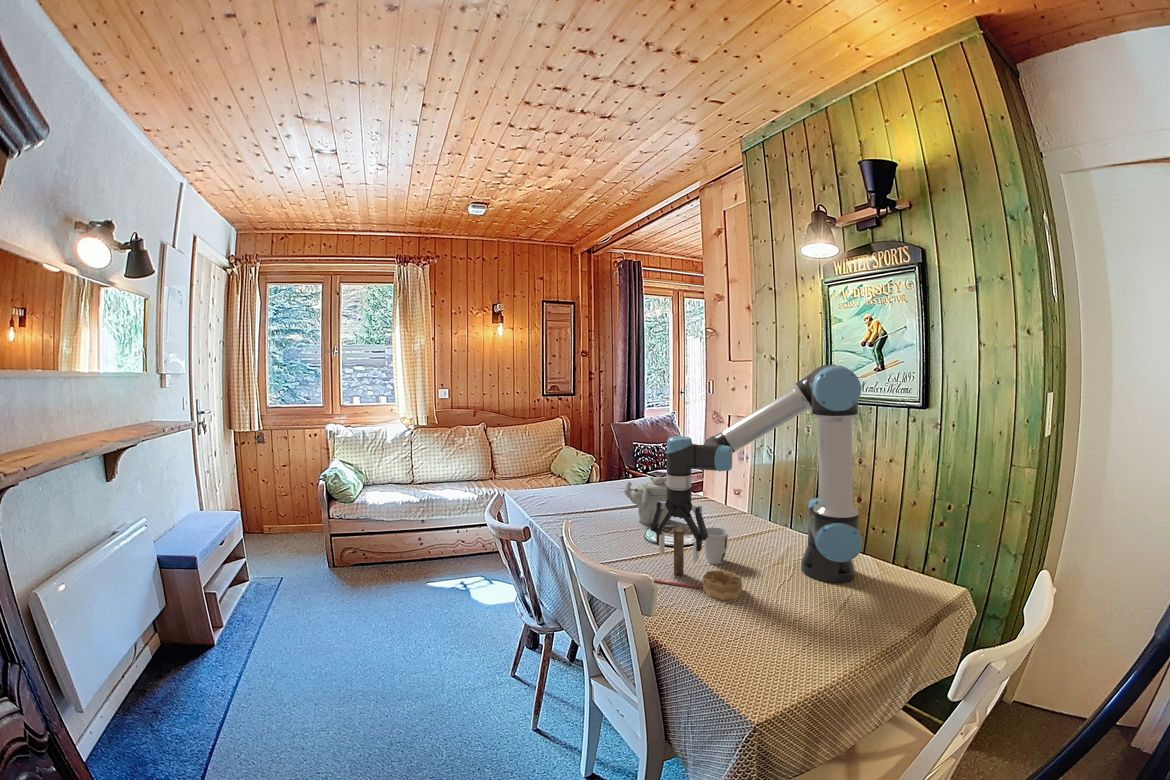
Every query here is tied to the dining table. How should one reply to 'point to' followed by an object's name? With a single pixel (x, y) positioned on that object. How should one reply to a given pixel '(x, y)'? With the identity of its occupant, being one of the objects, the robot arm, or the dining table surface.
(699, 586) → the thin red rod
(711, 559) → the cup
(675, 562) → the brown rod
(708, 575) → the wooden ring block
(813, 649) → the dining table surface
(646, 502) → the teapot
